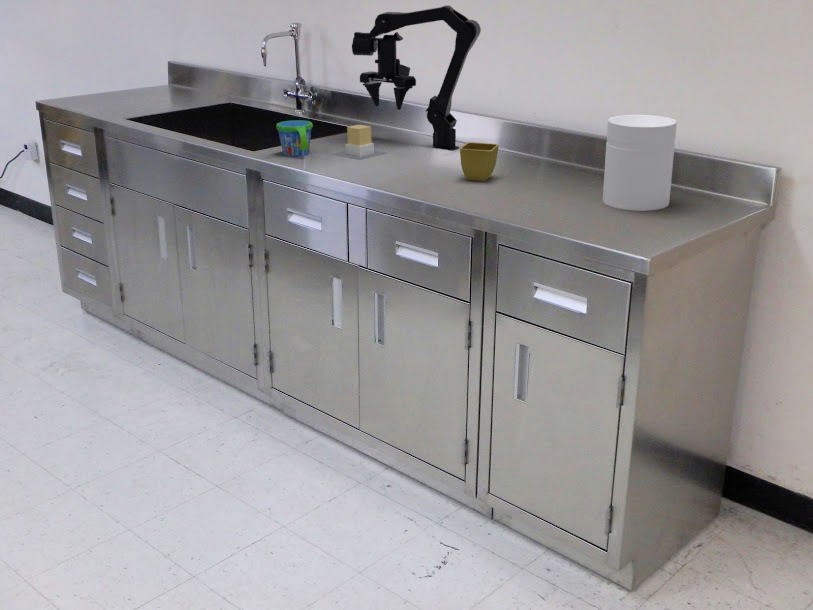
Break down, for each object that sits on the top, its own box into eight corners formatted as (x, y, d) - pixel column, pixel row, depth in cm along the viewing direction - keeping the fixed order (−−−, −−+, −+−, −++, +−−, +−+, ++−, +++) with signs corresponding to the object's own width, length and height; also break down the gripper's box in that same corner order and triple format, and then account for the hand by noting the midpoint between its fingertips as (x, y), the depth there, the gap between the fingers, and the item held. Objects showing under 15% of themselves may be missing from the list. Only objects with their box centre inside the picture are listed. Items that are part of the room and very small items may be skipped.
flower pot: (498, 176, 259) (499, 143, 255) (490, 184, 251) (491, 150, 248) (467, 174, 261) (468, 141, 258) (458, 181, 254) (459, 148, 250)
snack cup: (273, 153, 289) (271, 120, 285) (306, 150, 292) (305, 117, 289) (285, 164, 275) (282, 129, 272) (320, 160, 279) (318, 126, 275)
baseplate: (388, 156, 283) (388, 152, 283) (360, 163, 275) (360, 159, 275) (359, 150, 291) (359, 147, 290) (331, 157, 282) (331, 154, 282)
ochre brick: (371, 143, 282) (371, 126, 280) (359, 146, 278) (359, 129, 276) (359, 141, 285) (358, 124, 283) (347, 143, 281) (347, 127, 279)
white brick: (374, 153, 283) (373, 143, 282) (360, 156, 279) (359, 146, 277) (359, 150, 286) (359, 140, 285) (345, 153, 282) (345, 143, 281)
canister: (628, 214, 223) (634, 129, 216) (589, 197, 237) (594, 117, 230) (682, 205, 229) (691, 123, 222) (642, 190, 243) (649, 112, 235)
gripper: (427, 55, 285) (428, 107, 291) (382, 51, 297) (383, 101, 303) (403, 59, 278) (403, 112, 283) (357, 54, 289) (359, 106, 295)
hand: (388, 107), depth 291 cm, fingers open, 9 cm apart
